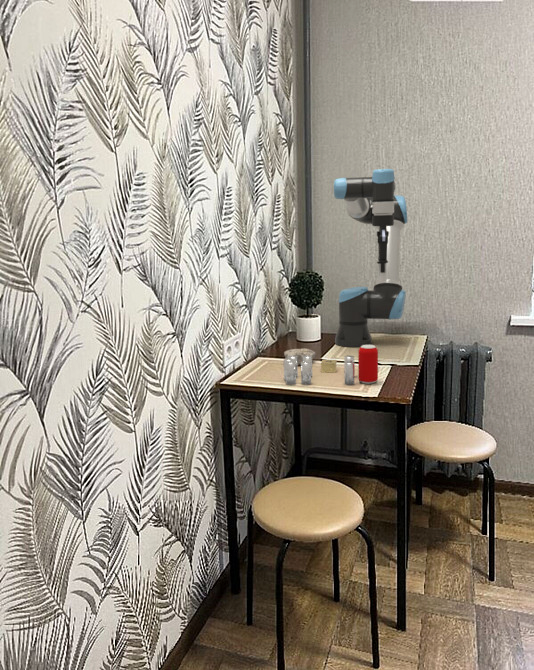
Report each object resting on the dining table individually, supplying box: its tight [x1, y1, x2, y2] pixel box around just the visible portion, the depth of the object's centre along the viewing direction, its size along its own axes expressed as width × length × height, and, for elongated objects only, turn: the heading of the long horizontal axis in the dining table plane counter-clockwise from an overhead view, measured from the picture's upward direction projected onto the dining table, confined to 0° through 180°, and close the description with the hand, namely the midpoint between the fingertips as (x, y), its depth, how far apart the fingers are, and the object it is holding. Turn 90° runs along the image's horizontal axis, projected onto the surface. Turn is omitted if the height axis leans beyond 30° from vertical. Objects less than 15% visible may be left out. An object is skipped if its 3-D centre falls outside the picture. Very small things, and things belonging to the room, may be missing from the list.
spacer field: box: [283, 355, 356, 386], centre depth 204 cm, size 11×28×7 cm, turn 83°
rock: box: [283, 348, 316, 366], centre depth 227 cm, size 11×11×6 cm
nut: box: [320, 359, 337, 374], centre depth 216 cm, size 5×5×4 cm
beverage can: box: [357, 344, 379, 385], centre depth 199 cm, size 6×6×12 cm
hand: (382, 281), depth 221 cm, fingers closed
